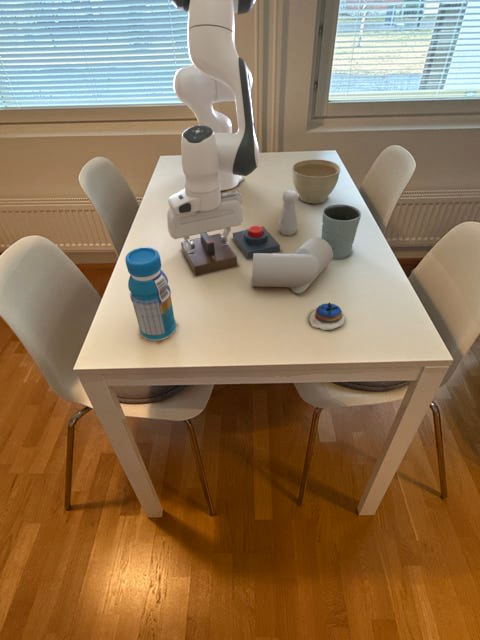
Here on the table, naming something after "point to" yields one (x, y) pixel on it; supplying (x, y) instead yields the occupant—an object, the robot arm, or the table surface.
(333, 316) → the dessert
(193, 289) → the table surface
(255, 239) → the button box
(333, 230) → the light blue cup
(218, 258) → the dial base
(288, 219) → the salt shaker
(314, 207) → the table surface
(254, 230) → the red button
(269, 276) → the bent grey cylinder
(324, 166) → the planter bowl
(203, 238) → the lever
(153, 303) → the beverage bottle
